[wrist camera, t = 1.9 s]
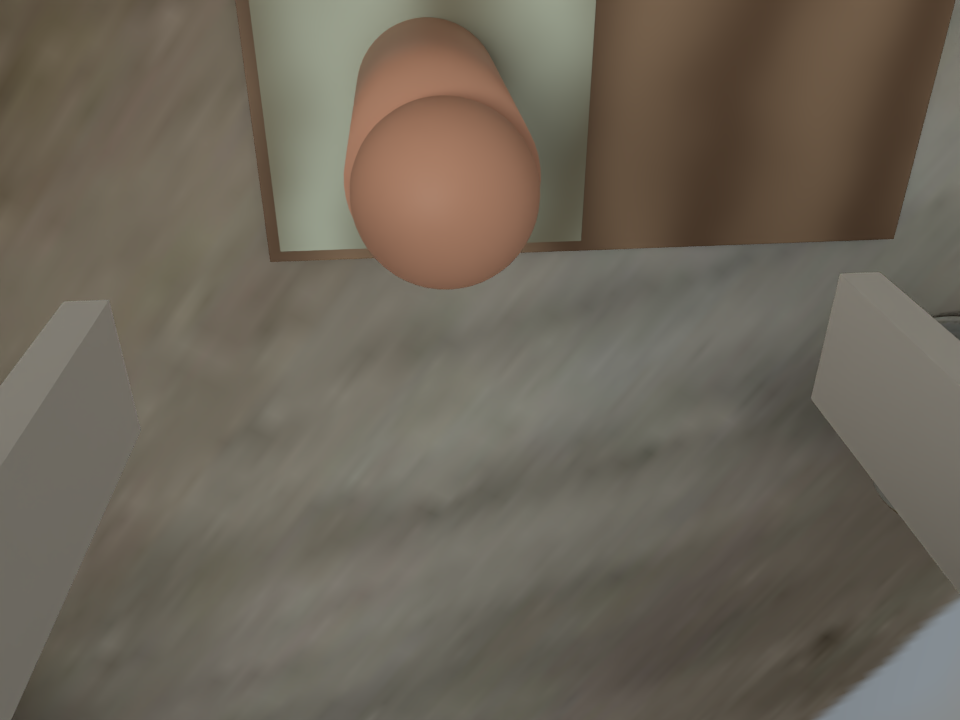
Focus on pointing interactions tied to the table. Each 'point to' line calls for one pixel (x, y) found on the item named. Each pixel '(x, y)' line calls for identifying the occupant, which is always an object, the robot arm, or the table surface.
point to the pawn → (439, 158)
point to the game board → (625, 114)
